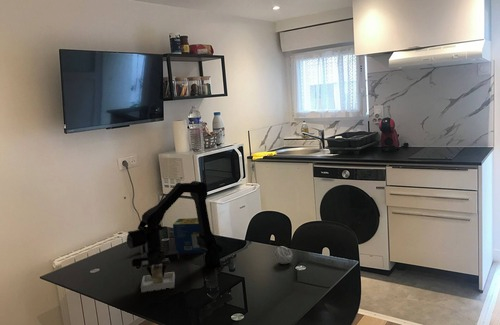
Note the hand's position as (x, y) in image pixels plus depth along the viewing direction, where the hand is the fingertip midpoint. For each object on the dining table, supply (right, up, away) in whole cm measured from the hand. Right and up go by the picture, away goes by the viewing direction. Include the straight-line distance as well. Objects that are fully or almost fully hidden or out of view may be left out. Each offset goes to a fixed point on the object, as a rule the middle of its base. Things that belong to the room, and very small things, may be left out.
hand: (158, 277), depth 178 cm
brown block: (0, -1, 0) cm, 1 cm away
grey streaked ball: (+54, +3, +12) cm, 55 cm away
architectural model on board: (-15, +1, +47) cm, 50 cm away
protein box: (+9, +3, +41) cm, 42 cm away
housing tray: (0, -3, 0) cm, 3 cm away
